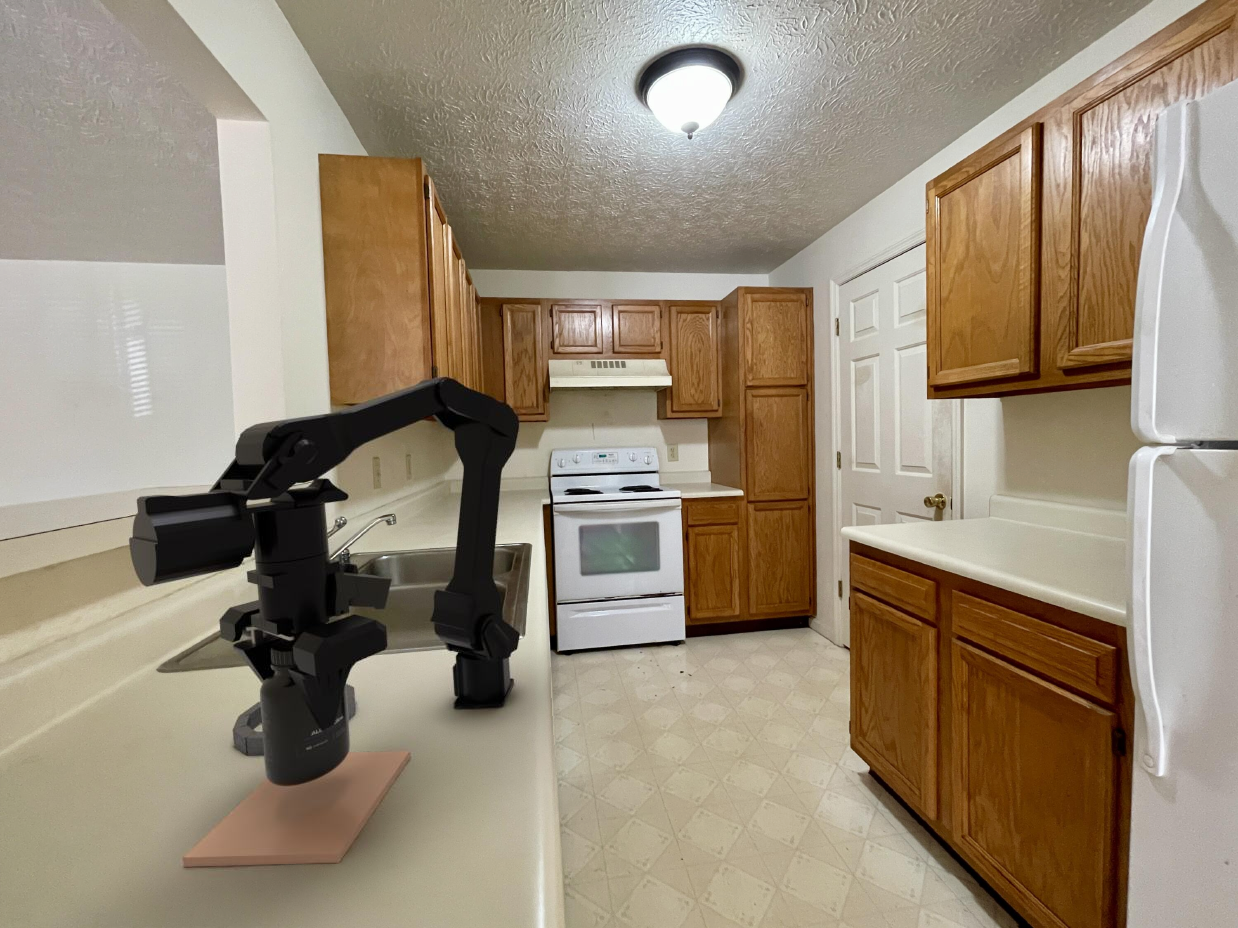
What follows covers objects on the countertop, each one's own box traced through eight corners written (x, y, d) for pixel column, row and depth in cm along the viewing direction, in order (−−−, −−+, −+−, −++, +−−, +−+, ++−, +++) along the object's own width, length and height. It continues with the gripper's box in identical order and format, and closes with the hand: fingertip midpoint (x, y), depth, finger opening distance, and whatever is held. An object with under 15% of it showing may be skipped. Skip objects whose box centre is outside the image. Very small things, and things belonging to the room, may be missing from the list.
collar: (373, 694, 66) (372, 680, 66) (315, 753, 54) (314, 735, 54) (285, 697, 67) (284, 683, 67) (207, 756, 54) (205, 739, 54)
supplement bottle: (335, 782, 43) (324, 652, 43) (250, 795, 42) (237, 662, 41) (361, 736, 50) (352, 623, 49) (289, 746, 49) (278, 630, 48)
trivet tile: (410, 757, 52) (409, 750, 52) (339, 862, 39) (338, 853, 39) (292, 761, 53) (292, 754, 53) (183, 866, 40) (182, 857, 40)
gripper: (432, 544, 47) (442, 699, 48) (328, 532, 57) (338, 661, 57) (310, 575, 37) (327, 767, 38) (210, 554, 47) (225, 708, 48)
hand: (307, 717), depth 46 cm, fingers closed on supplement bottle, 7 cm apart
